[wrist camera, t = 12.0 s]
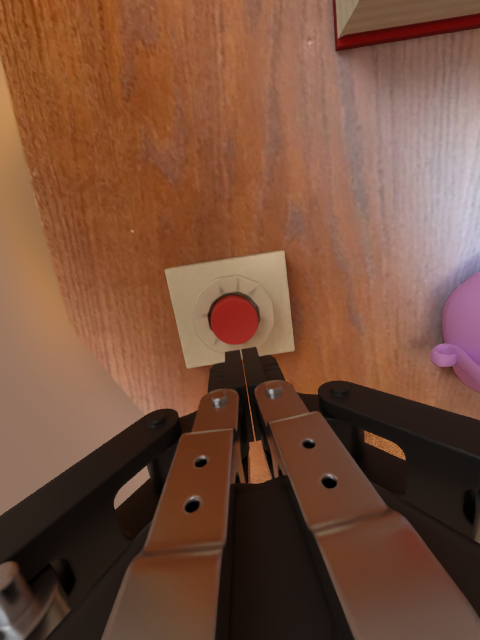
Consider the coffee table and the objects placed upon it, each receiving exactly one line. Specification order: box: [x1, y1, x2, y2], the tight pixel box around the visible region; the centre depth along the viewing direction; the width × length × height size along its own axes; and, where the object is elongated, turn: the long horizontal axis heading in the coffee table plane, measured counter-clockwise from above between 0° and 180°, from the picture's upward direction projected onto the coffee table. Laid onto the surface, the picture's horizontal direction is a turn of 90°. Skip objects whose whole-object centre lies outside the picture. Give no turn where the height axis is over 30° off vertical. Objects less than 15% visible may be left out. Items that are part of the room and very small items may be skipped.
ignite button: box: [211, 295, 258, 345], centre depth 21 cm, size 4×4×2 cm
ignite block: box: [165, 250, 295, 369], centre depth 24 cm, size 10×9×4 cm
